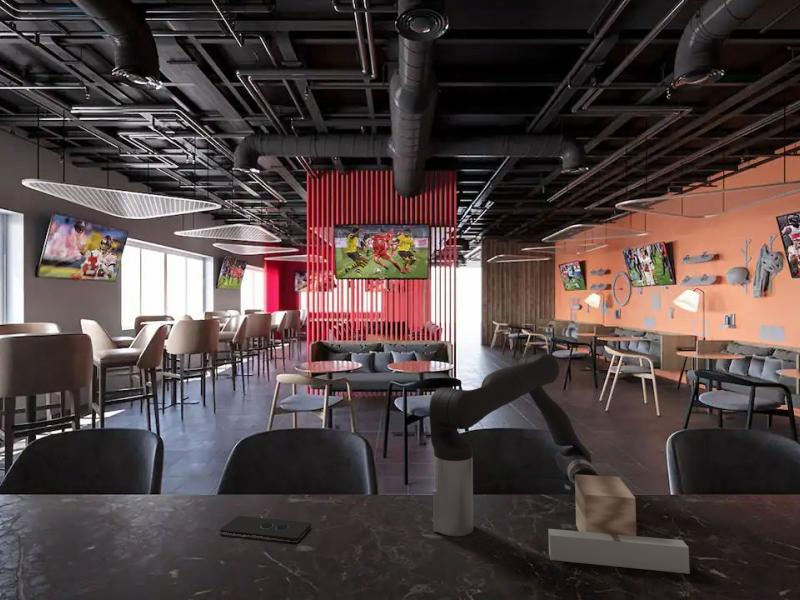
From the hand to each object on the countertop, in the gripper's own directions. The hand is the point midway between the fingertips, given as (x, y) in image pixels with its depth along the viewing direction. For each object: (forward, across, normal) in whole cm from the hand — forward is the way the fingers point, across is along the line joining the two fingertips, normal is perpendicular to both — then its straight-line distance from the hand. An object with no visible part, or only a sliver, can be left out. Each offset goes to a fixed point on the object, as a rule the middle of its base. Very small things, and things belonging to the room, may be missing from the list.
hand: (596, 500), depth 109 cm
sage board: (+17, 0, +6) cm, 18 cm away
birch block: (+6, 0, +6) cm, 9 cm away
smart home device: (+18, -78, +7) cm, 80 cm away
